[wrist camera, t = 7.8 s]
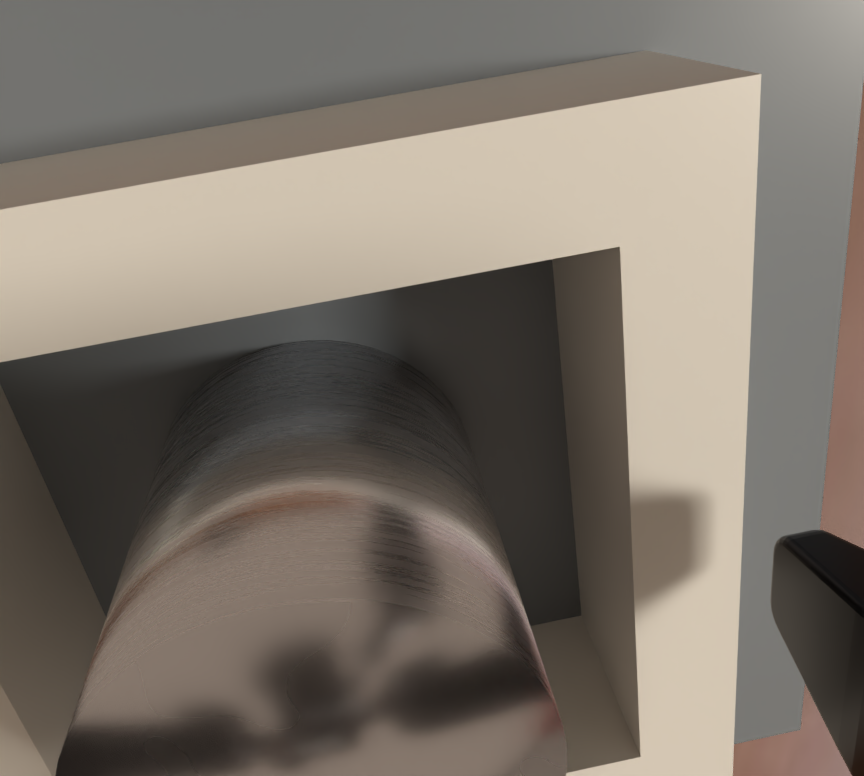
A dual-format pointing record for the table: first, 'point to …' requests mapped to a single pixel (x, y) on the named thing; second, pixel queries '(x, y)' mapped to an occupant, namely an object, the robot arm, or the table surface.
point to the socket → (445, 307)
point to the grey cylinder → (316, 591)
